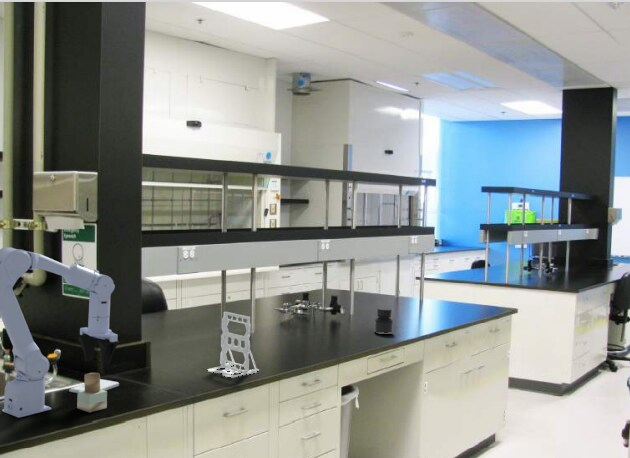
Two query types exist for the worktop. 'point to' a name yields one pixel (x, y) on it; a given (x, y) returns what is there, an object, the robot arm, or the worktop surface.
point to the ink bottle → (383, 320)
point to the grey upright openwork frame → (234, 348)
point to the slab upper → (92, 396)
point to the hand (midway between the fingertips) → (97, 362)
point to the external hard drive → (103, 385)
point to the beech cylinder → (92, 382)
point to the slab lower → (91, 406)
